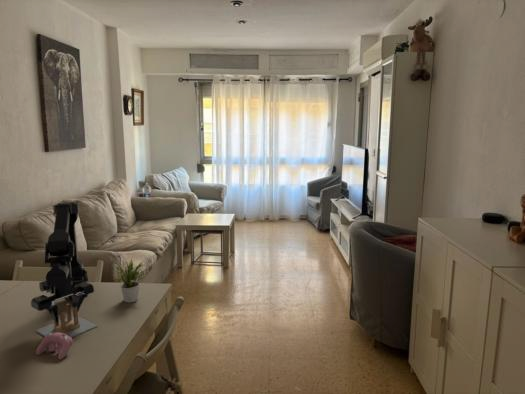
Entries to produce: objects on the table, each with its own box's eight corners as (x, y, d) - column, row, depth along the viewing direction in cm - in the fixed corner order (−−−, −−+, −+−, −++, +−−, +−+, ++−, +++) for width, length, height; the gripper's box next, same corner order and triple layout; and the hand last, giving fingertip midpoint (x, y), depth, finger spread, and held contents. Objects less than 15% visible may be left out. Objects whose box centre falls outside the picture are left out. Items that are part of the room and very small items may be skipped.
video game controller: (71, 359, 120) (77, 335, 122) (59, 360, 116) (66, 335, 118) (45, 353, 123) (51, 330, 125) (33, 354, 119) (40, 330, 121)
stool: (70, 322, 139) (69, 302, 138) (80, 326, 136) (78, 307, 134) (53, 328, 134) (51, 309, 133) (62, 334, 131) (60, 313, 130)
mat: (75, 315, 145) (75, 314, 145) (97, 326, 137) (97, 325, 136) (35, 331, 134) (35, 330, 134) (56, 344, 125) (56, 343, 125)
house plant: (156, 302, 156) (154, 262, 153) (120, 311, 148) (117, 269, 145) (144, 290, 167) (142, 253, 165) (110, 298, 160) (108, 259, 157)
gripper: (76, 262, 144) (79, 303, 147) (20, 278, 129) (25, 323, 132) (93, 269, 138) (96, 311, 140) (37, 286, 123) (41, 333, 125)
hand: (66, 319), depth 135 cm, fingers open, 6 cm apart
